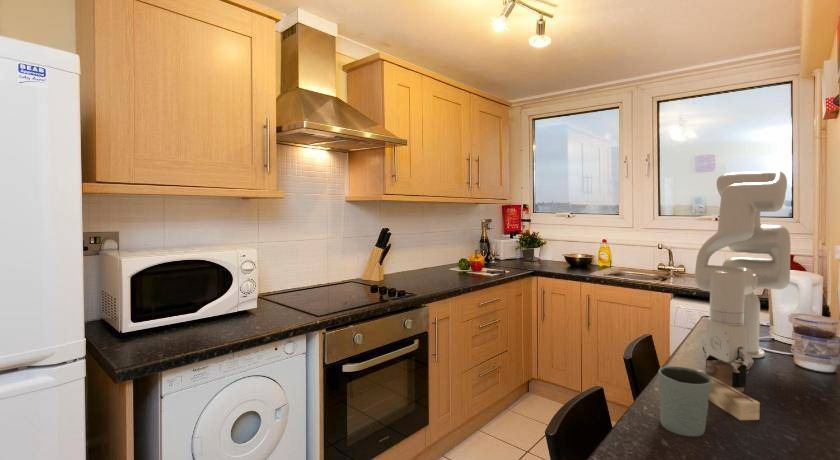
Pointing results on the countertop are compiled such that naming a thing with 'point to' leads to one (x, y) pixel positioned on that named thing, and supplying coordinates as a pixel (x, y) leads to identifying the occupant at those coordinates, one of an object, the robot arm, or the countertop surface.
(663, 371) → the green cup
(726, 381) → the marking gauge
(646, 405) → the countertop surface
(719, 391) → the guide plank
